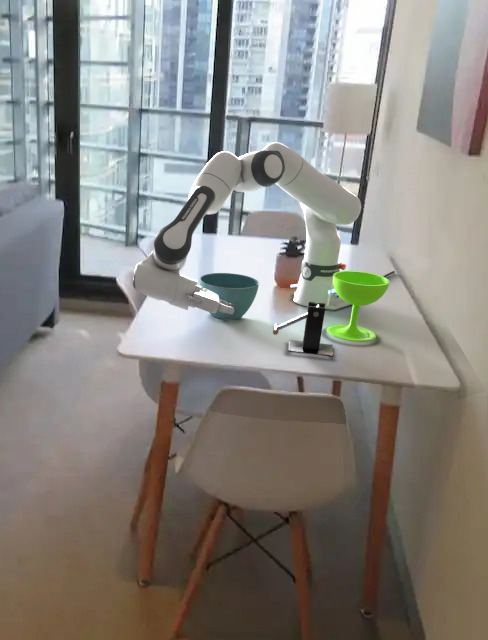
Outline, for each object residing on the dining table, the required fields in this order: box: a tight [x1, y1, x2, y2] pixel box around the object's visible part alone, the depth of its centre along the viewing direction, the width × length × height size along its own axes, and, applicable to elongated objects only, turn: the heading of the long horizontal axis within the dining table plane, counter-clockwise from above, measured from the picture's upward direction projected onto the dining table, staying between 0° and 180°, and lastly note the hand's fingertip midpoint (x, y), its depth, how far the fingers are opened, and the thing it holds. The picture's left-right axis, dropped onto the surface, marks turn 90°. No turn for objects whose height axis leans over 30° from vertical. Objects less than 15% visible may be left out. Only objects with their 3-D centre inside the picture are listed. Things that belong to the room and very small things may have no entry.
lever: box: [272, 304, 320, 336], centre depth 199 cm, size 14×6×2 cm
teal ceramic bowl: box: [199, 272, 260, 321], centre depth 224 cm, size 18×18×12 cm
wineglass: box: [326, 270, 391, 342], centre depth 212 cm, size 16×16×18 cm
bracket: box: [287, 302, 334, 357], centre depth 199 cm, size 12×9×14 cm
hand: (233, 309), depth 202 cm, fingers open, 8 cm apart
